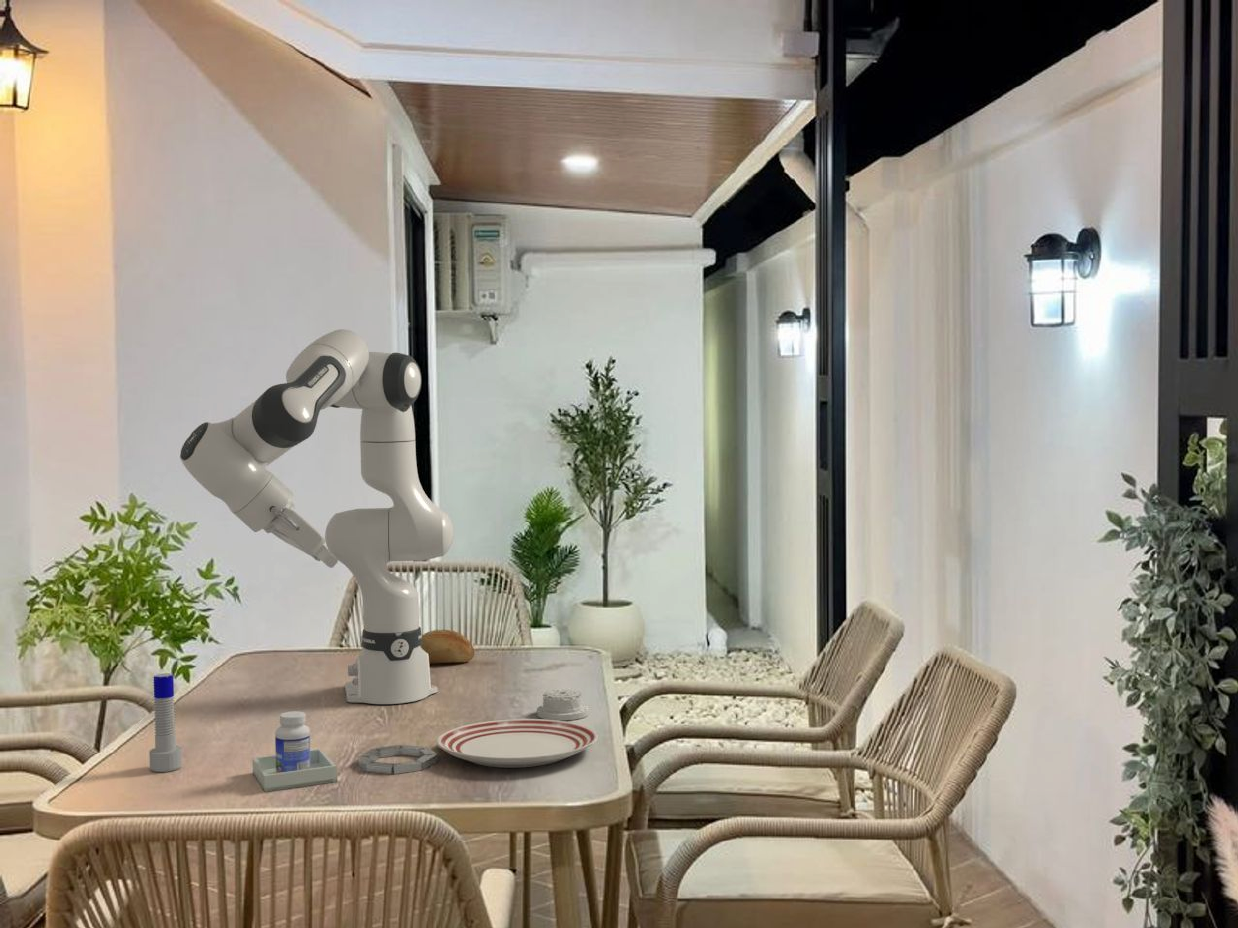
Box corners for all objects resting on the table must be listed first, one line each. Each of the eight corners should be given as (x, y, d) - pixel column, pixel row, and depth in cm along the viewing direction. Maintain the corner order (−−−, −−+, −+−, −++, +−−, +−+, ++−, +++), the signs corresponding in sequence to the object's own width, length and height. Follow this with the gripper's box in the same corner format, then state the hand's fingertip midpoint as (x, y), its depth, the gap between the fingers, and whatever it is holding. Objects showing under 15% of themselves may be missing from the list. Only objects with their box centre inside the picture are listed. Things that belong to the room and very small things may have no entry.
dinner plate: (451, 732, 222) (451, 714, 221) (601, 732, 221) (600, 714, 221) (423, 778, 194) (423, 757, 194) (593, 777, 193) (593, 757, 193)
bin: (252, 772, 197) (252, 757, 197) (321, 763, 202) (321, 748, 202) (264, 791, 187) (264, 775, 187) (337, 781, 192) (336, 765, 192)
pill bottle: (275, 770, 197) (274, 711, 196) (309, 767, 198) (308, 708, 198) (276, 780, 192) (274, 719, 191) (311, 777, 193) (310, 716, 193)
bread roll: (474, 667, 278) (473, 632, 277) (408, 669, 276) (407, 634, 276) (474, 658, 287) (474, 625, 287) (410, 660, 286) (410, 627, 285)
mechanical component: (530, 721, 229) (581, 723, 227) (530, 698, 229) (581, 700, 227) (544, 708, 239) (593, 710, 237) (544, 686, 239) (593, 688, 237)
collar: (352, 758, 205) (352, 751, 205) (422, 748, 210) (422, 741, 210) (370, 777, 194) (370, 770, 194) (443, 766, 200) (443, 759, 199)
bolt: (145, 773, 198) (155, 764, 203) (177, 772, 198) (185, 763, 203) (143, 678, 197) (152, 672, 202) (174, 677, 197) (183, 671, 202)
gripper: (292, 495, 189) (355, 553, 193) (269, 487, 207) (327, 540, 212) (263, 525, 187) (328, 583, 192) (242, 514, 205) (302, 568, 210)
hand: (327, 561), depth 202 cm, fingers open, 8 cm apart
